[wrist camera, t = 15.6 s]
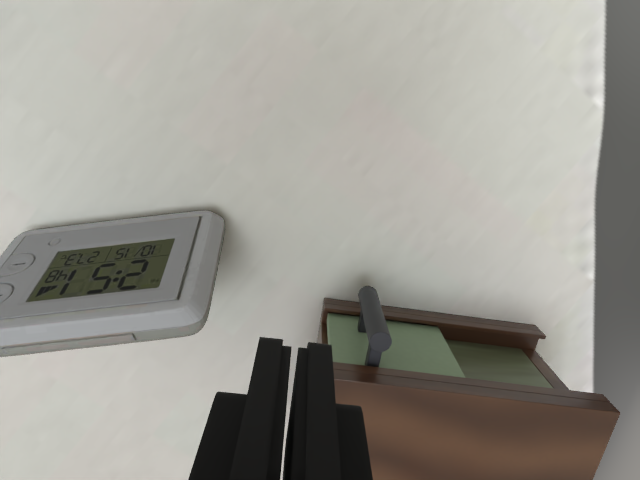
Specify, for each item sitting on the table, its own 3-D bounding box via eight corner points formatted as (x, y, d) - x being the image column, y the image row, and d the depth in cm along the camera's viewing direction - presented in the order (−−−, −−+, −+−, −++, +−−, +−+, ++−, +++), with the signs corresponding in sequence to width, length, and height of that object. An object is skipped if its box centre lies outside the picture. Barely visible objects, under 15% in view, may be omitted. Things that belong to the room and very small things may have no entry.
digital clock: (235, 208, 34) (203, 255, 24) (232, 314, 37) (202, 396, 27) (19, 191, 34) (-108, 232, 24) (32, 300, 36) (-77, 379, 26)
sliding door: (334, 275, 35) (340, 328, 27) (447, 290, 35) (486, 346, 27) (326, 321, 36) (330, 385, 28) (436, 334, 36) (470, 401, 28)
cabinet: (324, 297, 37) (328, 377, 26) (535, 325, 38) (621, 412, 27) (304, 416, 40) (301, 529, 30) (498, 438, 41) (561, 555, 31)
